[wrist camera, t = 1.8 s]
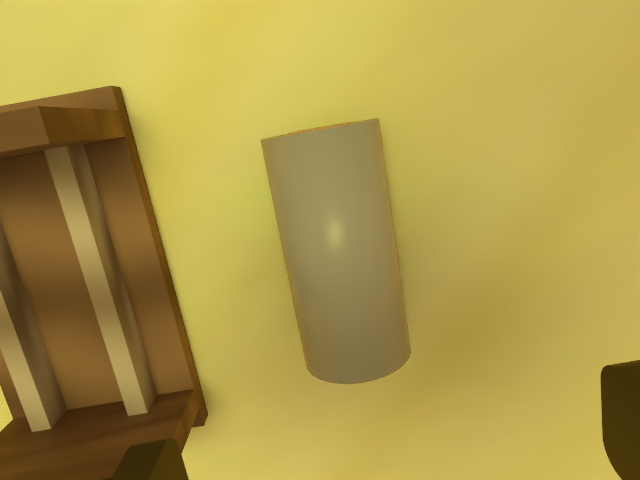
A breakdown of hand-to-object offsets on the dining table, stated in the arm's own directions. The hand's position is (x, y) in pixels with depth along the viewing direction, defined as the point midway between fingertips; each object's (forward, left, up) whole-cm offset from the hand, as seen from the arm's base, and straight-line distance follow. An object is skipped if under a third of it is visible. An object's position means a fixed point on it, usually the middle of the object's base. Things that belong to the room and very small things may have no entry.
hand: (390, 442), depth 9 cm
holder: (0, -14, -16) cm, 21 cm away
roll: (0, 0, -16) cm, 16 cm away
